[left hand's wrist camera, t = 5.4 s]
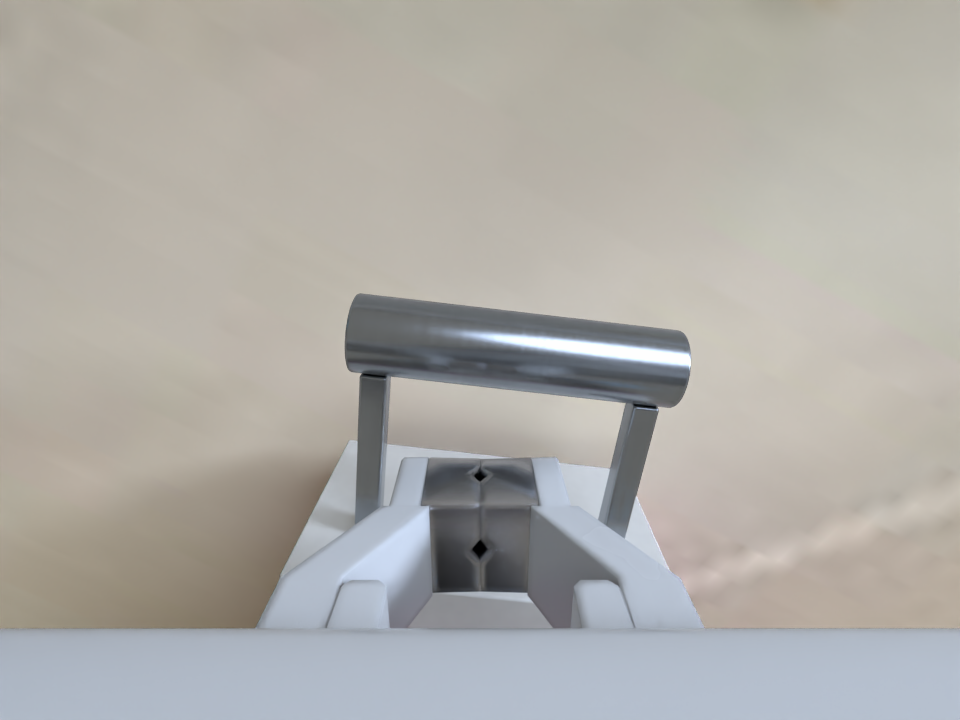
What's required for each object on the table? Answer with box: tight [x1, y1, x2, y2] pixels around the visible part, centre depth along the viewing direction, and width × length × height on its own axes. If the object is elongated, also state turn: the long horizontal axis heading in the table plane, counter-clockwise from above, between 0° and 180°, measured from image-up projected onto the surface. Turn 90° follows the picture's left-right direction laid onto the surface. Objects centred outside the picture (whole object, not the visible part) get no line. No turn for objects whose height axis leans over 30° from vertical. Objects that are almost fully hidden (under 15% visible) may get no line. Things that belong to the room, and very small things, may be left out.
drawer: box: [280, 293, 691, 628], centre depth 16 cm, size 21×9×6 cm, turn 173°
